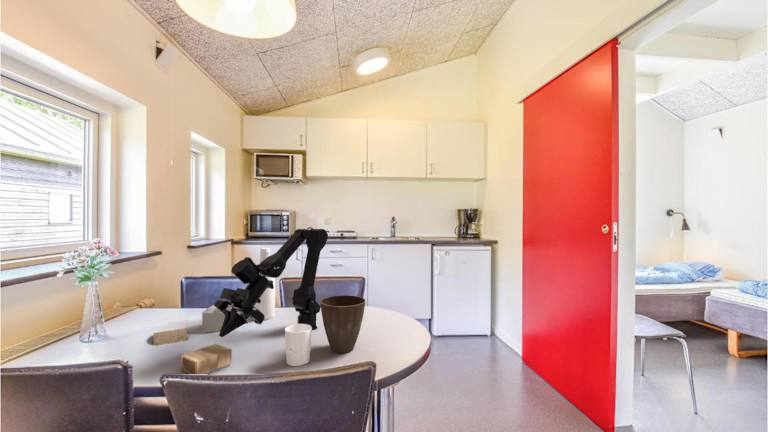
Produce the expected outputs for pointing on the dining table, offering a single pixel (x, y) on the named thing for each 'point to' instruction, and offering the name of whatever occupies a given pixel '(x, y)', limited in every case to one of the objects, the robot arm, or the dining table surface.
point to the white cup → (298, 344)
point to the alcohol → (267, 292)
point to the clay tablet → (170, 336)
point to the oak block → (206, 359)
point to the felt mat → (218, 369)
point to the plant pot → (342, 321)
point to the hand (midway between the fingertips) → (220, 336)
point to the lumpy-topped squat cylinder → (212, 319)
